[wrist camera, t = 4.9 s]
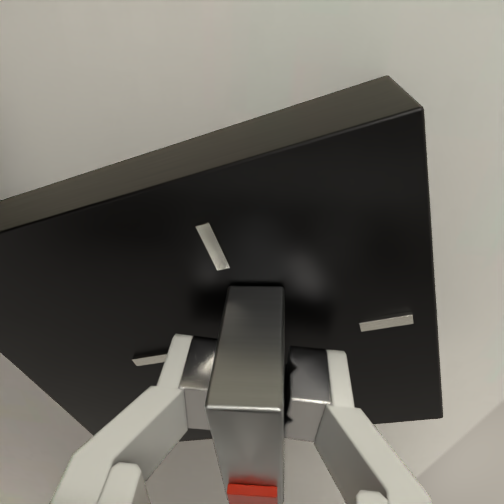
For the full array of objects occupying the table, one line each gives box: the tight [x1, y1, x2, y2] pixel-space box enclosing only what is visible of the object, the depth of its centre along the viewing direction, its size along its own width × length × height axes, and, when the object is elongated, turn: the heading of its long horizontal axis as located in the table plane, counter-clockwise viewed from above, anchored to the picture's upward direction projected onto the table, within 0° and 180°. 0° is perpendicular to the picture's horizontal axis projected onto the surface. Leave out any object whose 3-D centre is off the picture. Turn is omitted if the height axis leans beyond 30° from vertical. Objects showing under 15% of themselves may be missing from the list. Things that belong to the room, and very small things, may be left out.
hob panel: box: [0, 76, 443, 442], centre depth 13 cm, size 14×11×3 cm
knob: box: [205, 286, 285, 504], centre depth 9 cm, size 4×2×4 cm, turn 3°
